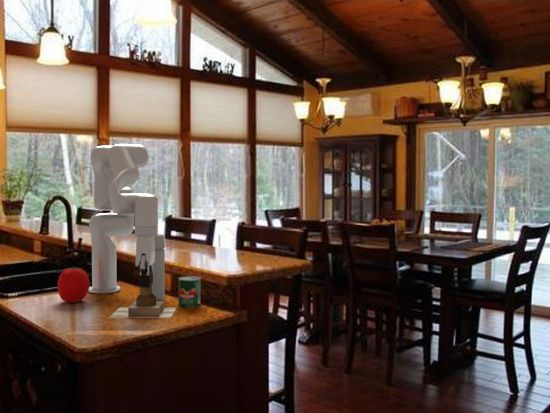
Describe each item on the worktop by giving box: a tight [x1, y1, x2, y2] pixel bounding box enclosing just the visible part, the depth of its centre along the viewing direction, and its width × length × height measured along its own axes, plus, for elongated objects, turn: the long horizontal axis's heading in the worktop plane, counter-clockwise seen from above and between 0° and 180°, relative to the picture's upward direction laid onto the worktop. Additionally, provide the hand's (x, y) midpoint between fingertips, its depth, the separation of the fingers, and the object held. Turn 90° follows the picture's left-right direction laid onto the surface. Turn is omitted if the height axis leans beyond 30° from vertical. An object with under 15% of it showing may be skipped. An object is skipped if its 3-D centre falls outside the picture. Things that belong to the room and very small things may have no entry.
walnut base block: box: [128, 300, 165, 317], centre depth 190 cm, size 10×10×3 cm
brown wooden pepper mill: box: [135, 264, 157, 306], centre depth 189 cm, size 7×6×18 cm
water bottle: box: [152, 233, 166, 301], centre depth 213 cm, size 9×8×25 cm
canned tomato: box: [177, 275, 202, 309], centre depth 202 cm, size 8×8×11 cm
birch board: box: [108, 306, 177, 319], centre depth 191 cm, size 14×20×1 cm
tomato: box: [57, 266, 91, 304], centre depth 209 cm, size 12×12×13 cm
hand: (146, 285), depth 189 cm, fingers open, 4 cm apart
